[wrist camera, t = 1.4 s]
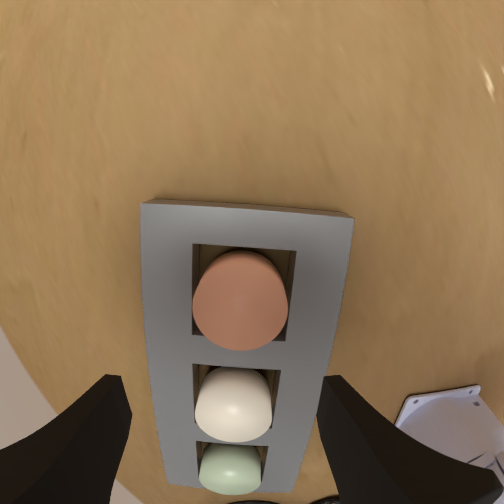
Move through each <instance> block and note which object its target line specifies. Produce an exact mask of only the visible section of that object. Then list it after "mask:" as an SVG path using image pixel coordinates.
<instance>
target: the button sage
mask: <svg viewBox="0 0 504 504" xmlns="http://www.w3.org/2000/svg"><path fill="white" fill-rule="evenodd" d="M199 481H200V483H201V484H202V485H203V486H204V487H205V488H207V489H209V490H211V491H213V492H216V493H220V494H225V495H242V494H247V493H250V492H252V491H254V490H256V489H257V488H258V487H259V486H260V483H261V465H260V454H259V452H258V450H257V449H256V448H254V447H253V446H251V445H236V444H223V443H211V444H209V445H208V446H207V447H206V448H205V449H204V451H203V455H202V461H201V467H200V474H199Z"/></svg>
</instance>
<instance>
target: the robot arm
mask: <svg viewBox="0 0 504 504" xmlns="http://www.w3.org/2000/svg"><path fill="white" fill-rule="evenodd" d="M480 389H481V387H480V386H479V385H475V386H470V387H465V388H460V389H454V390H448V391H442V392H436V393H429V394H422V395H414V396H410V397H408V398H407V399H406V401H405V403H404V405H403V407H402V410H401V412H400V414H399V416H398V419H397V421H396V423H395V425H394V424H392V423H391V422H390V421H388V420H387V419H386V418H385V417H384V416H382V415H381V414H380V413H379V412H378V411H377V410H376V409H374V408H373V407H372V406H371V405H370V404H369V403H368V402H367V401H366V400H365V399H364V398H363V397H362V396H361V395H360V394H359V393H358V392H357V391H356V390H355V389H354V388H353V387H352V386H351V385H350V384H349V383H348V382H347V381H346V380H345V379H344V378H343V377H342V376H341V375H333V376H324V377H323V383H322V388H321V394H320V399H319V404H318V409H317V414H316V416H317V422H318V428H319V433H320V438H321V441H322V444H323V447H324V450H325V453H326V456H327V459H328V462H329V465H330V468H331V471H332V474H333V477H334V480H335V483H336V486H337V489H338V493H339V498H340V503H341V504H504V426H503V425H502V423H501V422H500V421H499V419H498V418H497V417H496V416H495V414H494V413H493V412H492V411H491V410H490V408H489V407H488V406H487V405H486V403H485V402H484V401H483V400H482V399H481V397H480V396H479V395H478V394H479V392H480ZM131 419H132V412H131V409H130V406H129V403H128V399H127V396H126V393H125V389H124V386H123V383H122V379H121V376H117V375H108V374H105V375H104V376H103V377H102V378H101V379H100V380H98V381H97V382H96V383H95V384H94V385H93V386H92V387H91V388H90V389H89V390H88V391H86V392H85V393H84V394H83V395H82V396H81V397H80V398H79V399H77V400H76V401H75V402H74V403H73V404H72V405H71V406H69V407H68V408H67V409H66V410H64V411H63V412H62V413H61V414H59V415H58V416H57V417H56V418H55V419H53V420H52V421H51V422H49V423H48V424H46V425H45V426H44V427H42V428H41V429H39V430H37V431H36V432H34V433H33V434H31V435H29V436H28V437H26V438H24V439H22V440H20V441H18V442H16V443H14V444H12V445H10V446H8V447H6V448H3V449H1V450H0V504H109V502H110V496H111V491H112V487H113V482H114V480H115V476H116V473H117V470H118V467H119V464H120V461H121V458H122V455H123V452H124V449H125V445H126V442H127V439H128V435H129V430H130V425H131Z"/></svg>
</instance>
